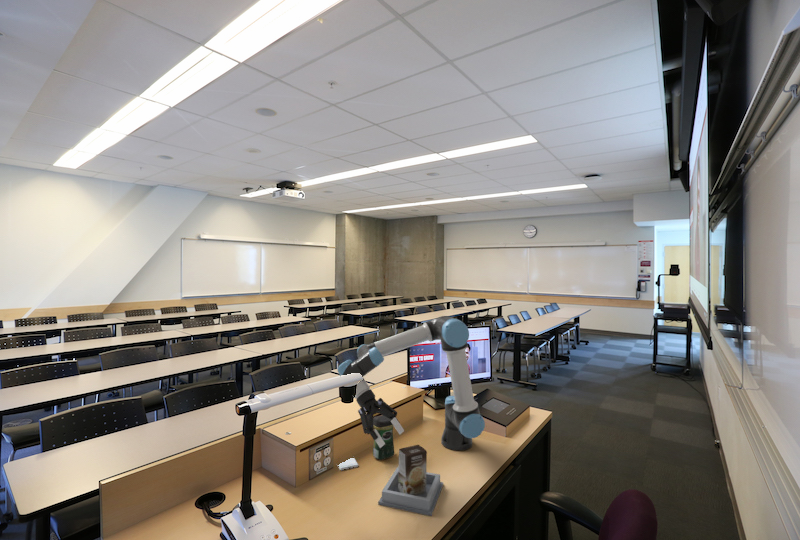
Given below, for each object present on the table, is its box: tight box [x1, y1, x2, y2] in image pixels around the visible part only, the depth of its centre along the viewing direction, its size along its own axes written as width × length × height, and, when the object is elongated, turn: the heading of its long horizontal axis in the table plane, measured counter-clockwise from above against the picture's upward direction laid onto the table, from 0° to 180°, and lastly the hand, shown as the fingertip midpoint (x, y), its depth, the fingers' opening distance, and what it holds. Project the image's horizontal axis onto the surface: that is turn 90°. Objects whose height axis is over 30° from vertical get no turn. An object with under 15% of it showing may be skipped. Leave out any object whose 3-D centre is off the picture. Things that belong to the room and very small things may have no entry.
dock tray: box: [377, 466, 444, 517], centre depth 145 cm, size 20×20×4 cm
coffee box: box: [398, 444, 428, 496], centre depth 145 cm, size 9×6×16 cm
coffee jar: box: [372, 414, 395, 460], centre depth 174 cm, size 10×8×19 cm
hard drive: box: [337, 457, 359, 471], centre depth 169 cm, size 2×8×12 cm
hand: (392, 439), depth 149 cm, fingers open, 13 cm apart
